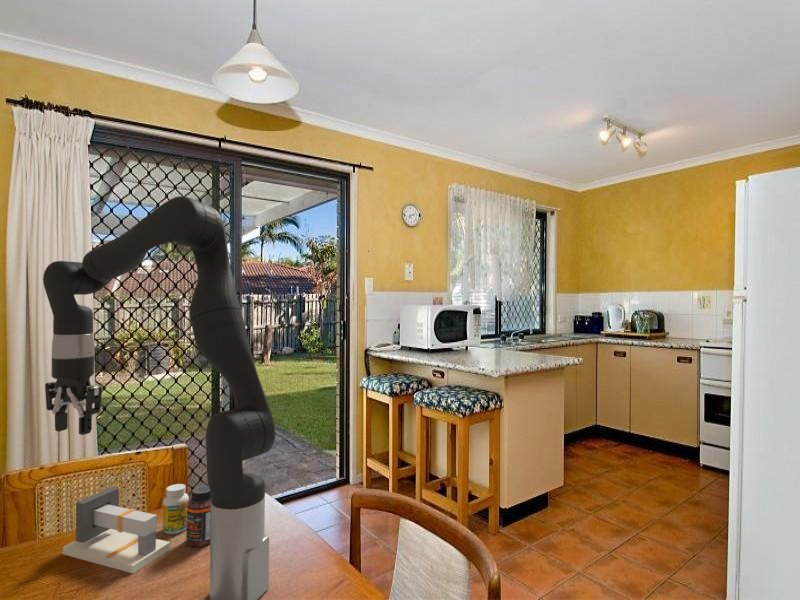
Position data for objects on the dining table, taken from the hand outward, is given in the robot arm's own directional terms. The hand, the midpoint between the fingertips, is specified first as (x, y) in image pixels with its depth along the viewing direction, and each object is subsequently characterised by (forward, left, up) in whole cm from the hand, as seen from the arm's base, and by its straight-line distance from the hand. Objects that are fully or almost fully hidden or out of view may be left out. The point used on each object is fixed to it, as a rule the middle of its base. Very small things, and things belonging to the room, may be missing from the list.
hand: (73, 431), depth 99 cm
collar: (-7, 0, -21) cm, 22 cm away
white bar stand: (-13, 0, -24) cm, 27 cm away
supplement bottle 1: (-17, -12, -24) cm, 31 cm away
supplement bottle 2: (-26, -10, -24) cm, 36 cm away
